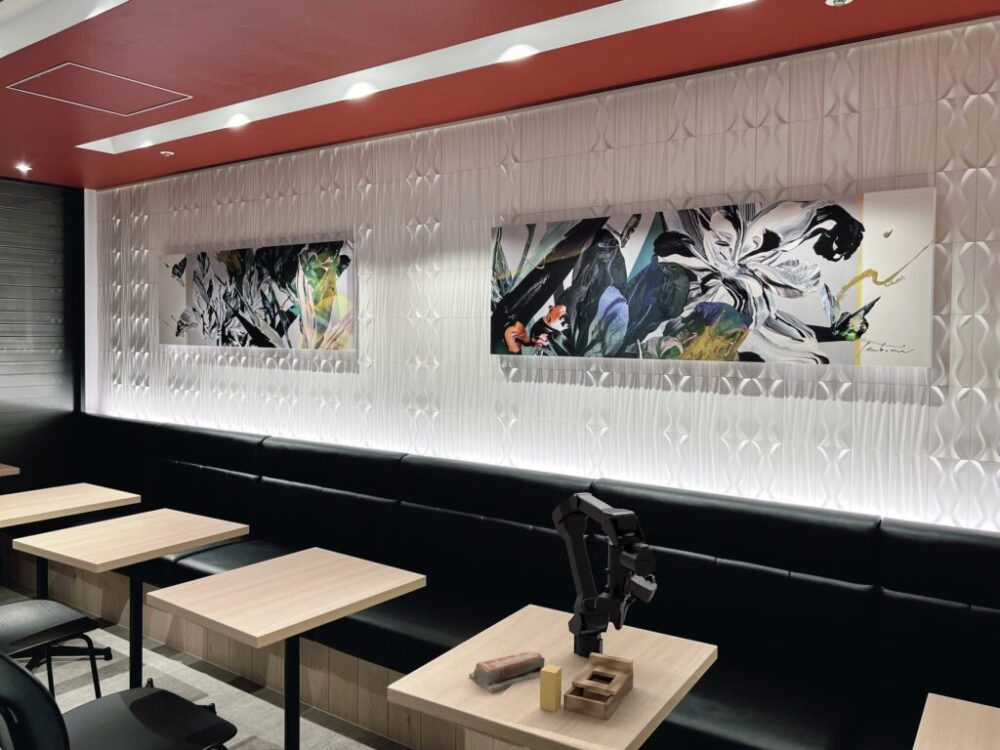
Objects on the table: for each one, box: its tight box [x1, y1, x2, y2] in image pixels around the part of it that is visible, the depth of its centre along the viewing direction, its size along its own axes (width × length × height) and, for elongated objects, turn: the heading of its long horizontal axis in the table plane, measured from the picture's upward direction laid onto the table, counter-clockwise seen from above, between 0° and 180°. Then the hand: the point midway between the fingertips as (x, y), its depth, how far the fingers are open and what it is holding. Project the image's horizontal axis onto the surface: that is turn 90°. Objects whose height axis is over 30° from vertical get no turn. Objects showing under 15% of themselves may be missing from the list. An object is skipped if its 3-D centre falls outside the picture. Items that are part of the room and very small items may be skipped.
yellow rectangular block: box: [539, 663, 562, 712], centre depth 171 cm, size 4×4×9 cm
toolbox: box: [562, 672, 634, 721], centre depth 176 cm, size 10×18×4 cm, turn 153°
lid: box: [571, 652, 634, 695], centre depth 178 cm, size 10×13×3 cm
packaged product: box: [468, 650, 546, 694], centre depth 188 cm, size 18×5×10 cm
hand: (618, 629), depth 187 cm, fingers closed
